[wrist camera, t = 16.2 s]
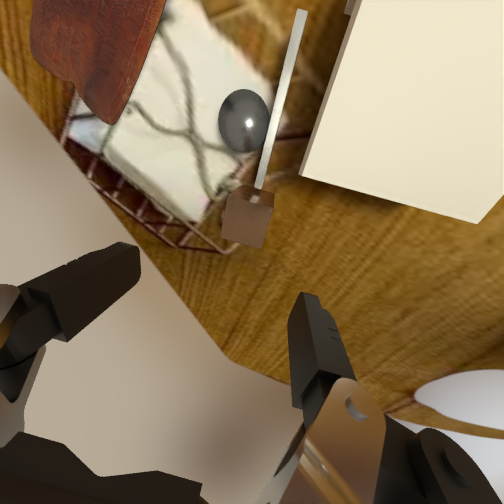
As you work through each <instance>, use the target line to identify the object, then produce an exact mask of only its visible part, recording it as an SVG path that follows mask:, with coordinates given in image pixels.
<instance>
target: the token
mask: <svg viewBox="0 0 504 504" xmlns="http://www.w3.org/2000/svg"><path fill="white" fill-rule="evenodd" d="M218 123H219V130H220V133H221V135H222V138H223V139H224V141H225V142H226V143H227V145H228V146H230V147H231V148H232V149H234V150H236V151H240V152H243V153H251V152H254V151H256V150H258V149H259V148H260V147H262V145H263V144H264V143H265V140H266V136H267V132H268V128H269V124H270V120H269V114H268V110H267V107H266V104H265V103H264V101H263V99H262V98H261V97H260V96H259V95H258V94H256V93H255V92H253V91H251V90H247V89H241V90H237V91H234V92H233V93H231V94H230V95H229V96H228V97H227V98H226V99H225V100H224V102H223V104H222V106H221V108H220V112H219V118H218Z"/></svg>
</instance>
